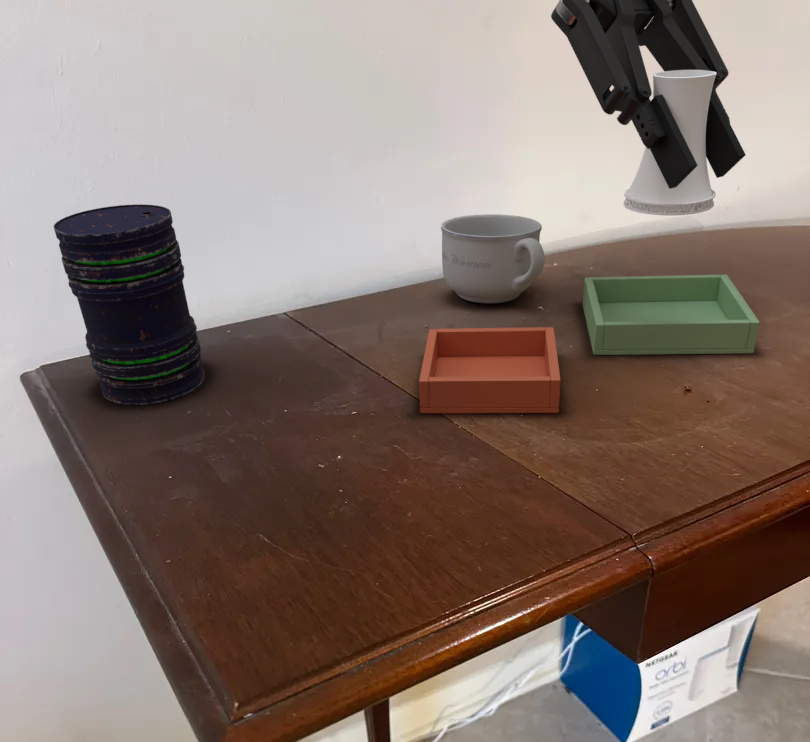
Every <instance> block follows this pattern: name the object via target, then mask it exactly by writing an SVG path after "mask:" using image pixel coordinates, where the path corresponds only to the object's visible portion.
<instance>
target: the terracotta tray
mask: <svg viewBox="0 0 810 742" xmlns="http://www.w3.org/2000/svg"><path fill="white" fill-rule="evenodd" d="M557 349H558V348H557V342H556V335H555V328H554V326H546V327H545V326H541V327H539V326H538V327H537V326H536V327H535V326H534V327H533V326H532V327H476V328H475V327H474V328H472V327H471V328H470V327H468V328H467V327H465V328H462V327H461V328H429V330H428V334H427V339H426V344H425V350H424V354H423V360H422V364H421V369H420V373H419V379H418V389H419V391H418V392H419V412H420V414H559V413H560V398H561V383H562V382H561V381H562V379H561V373H560V365H559V357H558V350H557Z"/></svg>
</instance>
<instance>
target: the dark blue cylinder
mask: <svg viewBox="0 0 810 742" xmlns="http://www.w3.org/2000/svg"><path fill="white" fill-rule="evenodd" d="M173 223H174V221H173V217H172V212H171V210H170V209H169V208H167V207H166V206H161V205H157V204H156V205H155V204H120V205H111V206H104V207H98V208H93V209H88V210H84V211H79V212H76V213H73V214H71V215H68V216H65V217H63V218H61V219H59V220H57V221H56V222H55V223H54V224H53V231H54V233H55V237H56V239H57V240H58V241H59V242H58V243H59V244H58V247H59V251H60V255H61V262H62V266H63V269H64V272H65V274H66V275H67V276H66V277H67V279H68V282H67V283H68V287H69V288H70V289H71V290H70V291H71V294H73V296H75V297H76V299H77V303H78V306H79V308H80V312H81V315H82V316H81V317H82V319H83V322H84V326H85V329H86V333H85V336H84V338H85V342H86V343H85V347H86V348H87V350H88V353H89V358H90V362H91V364H92V365H91V366H92V368H93V370H94V371H95V373H96V376H97V379H98V380H99V382H100V390H101V394H102V396H103V397H104V398H105V399H106V400H108V401H109V402H112V403H115V404H119V405H127V406H143V405H152V404H159V403H165V402H168V401H171V400H175V399H177V398H180V397H183V396H185V395H187V394H189V393H191V392H193V391H195V390H196V389H198V388H199V387H200V386H201V385H202V384H203V382H204V381H205V378H206V375H205V374H206V373H205V368H204V366H203V365H202V355H201V354H202V353H201V350H202V349H201V343H200V339H199V336H198V332H197V330H198V326H197V324H196V322H195V319H194V317H193V316H192V315H191V314H190V309H189V305H188V304H189V303H188V300H187V296H186V290H185V286H184V279H185V271H184V270H185V266H184V265H183V262H182V258H181V257H182V252H181V248H180V243H179V241H178V240H177V235H176V231H175V228H174V227H173Z"/></svg>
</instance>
